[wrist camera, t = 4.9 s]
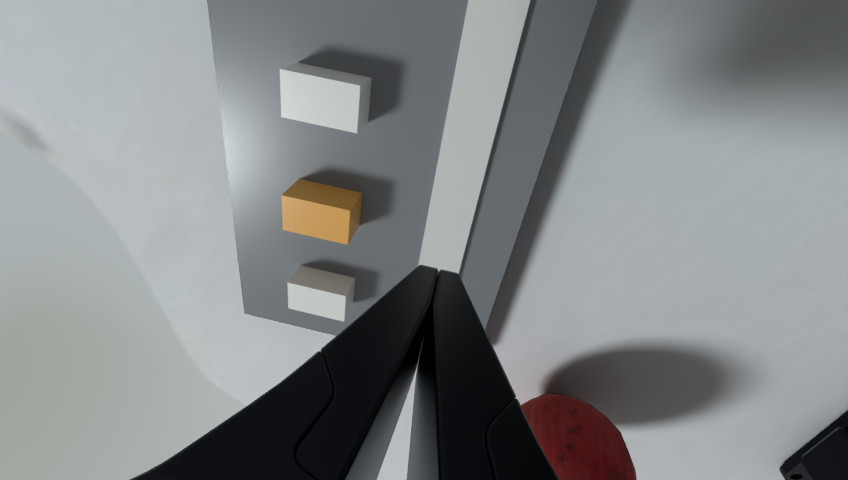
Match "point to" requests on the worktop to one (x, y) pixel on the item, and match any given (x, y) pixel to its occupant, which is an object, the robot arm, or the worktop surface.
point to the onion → (578, 439)
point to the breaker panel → (386, 139)
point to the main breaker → (321, 211)
